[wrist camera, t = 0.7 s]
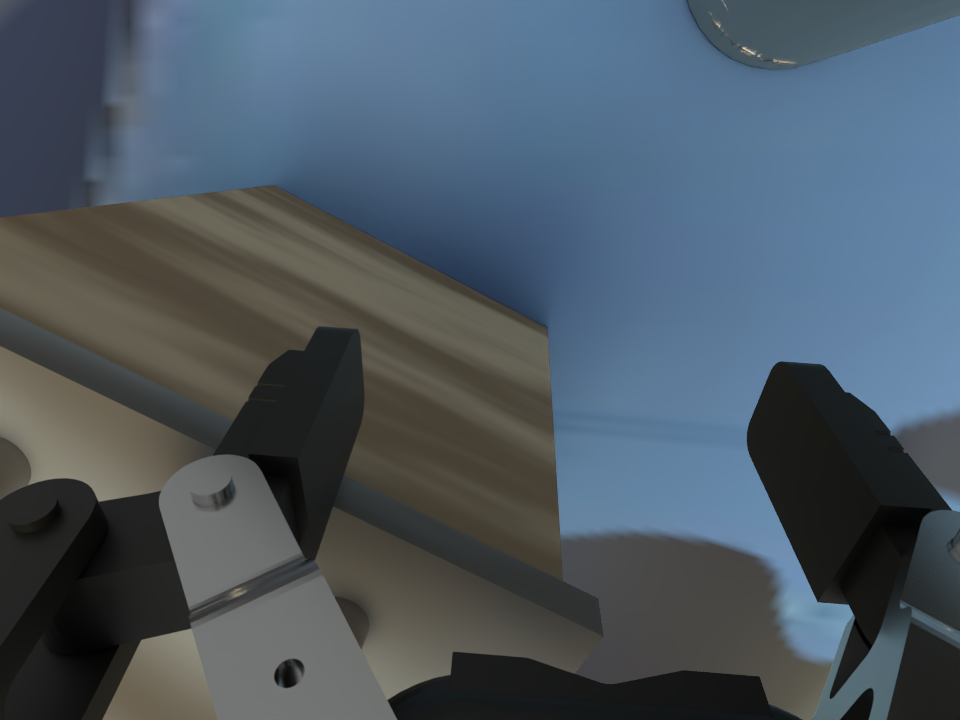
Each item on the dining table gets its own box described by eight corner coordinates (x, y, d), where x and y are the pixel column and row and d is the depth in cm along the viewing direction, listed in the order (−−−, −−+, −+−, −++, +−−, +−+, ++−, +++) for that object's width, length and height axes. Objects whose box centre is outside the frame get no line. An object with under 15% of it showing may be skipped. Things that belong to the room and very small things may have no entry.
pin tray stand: (268, 171, 30) (-458, 219, 8) (560, 324, 31) (615, 723, 9) (199, 365, 34) (-411, 747, 12) (460, 493, 35) (336, 1051, 13)
